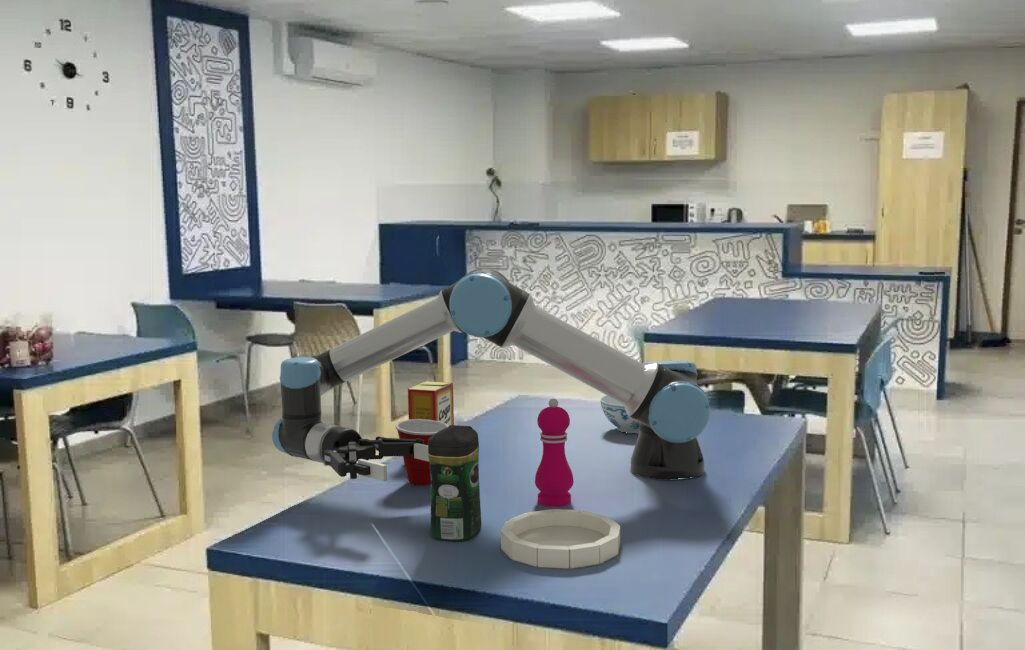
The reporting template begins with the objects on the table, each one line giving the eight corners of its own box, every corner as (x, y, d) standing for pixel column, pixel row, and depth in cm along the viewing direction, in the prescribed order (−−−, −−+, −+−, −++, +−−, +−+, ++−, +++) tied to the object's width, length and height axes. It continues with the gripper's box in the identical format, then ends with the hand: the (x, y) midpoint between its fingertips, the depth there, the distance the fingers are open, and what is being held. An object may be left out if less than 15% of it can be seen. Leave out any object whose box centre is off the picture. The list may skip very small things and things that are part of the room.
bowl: (589, 520, 172) (589, 504, 172) (639, 557, 155) (640, 539, 154) (487, 535, 166) (486, 517, 165) (527, 575, 148) (527, 556, 148)
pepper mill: (578, 499, 186) (577, 395, 183) (567, 511, 179) (566, 403, 176) (541, 496, 188) (540, 393, 185) (530, 507, 181) (528, 401, 179)
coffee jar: (443, 523, 173) (441, 420, 171) (486, 526, 171) (484, 423, 169) (423, 542, 164) (420, 434, 162) (468, 546, 162) (466, 436, 159)
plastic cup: (442, 491, 192) (441, 431, 190) (389, 488, 194) (387, 429, 193) (456, 475, 203) (455, 418, 201) (406, 473, 205) (404, 417, 203)
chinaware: (666, 437, 231) (666, 405, 230) (602, 438, 231) (602, 406, 230) (658, 422, 246) (658, 392, 245) (598, 423, 246) (598, 393, 245)
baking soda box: (436, 461, 214) (434, 389, 212) (409, 458, 216) (407, 387, 214) (454, 450, 223) (452, 381, 220) (428, 448, 225) (426, 379, 223)
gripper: (384, 451, 196) (462, 469, 182) (282, 480, 177) (360, 502, 163) (383, 414, 195) (461, 430, 181) (280, 439, 176) (359, 458, 162)
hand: (414, 464), depth 172 cm, fingers open, 13 cm apart
